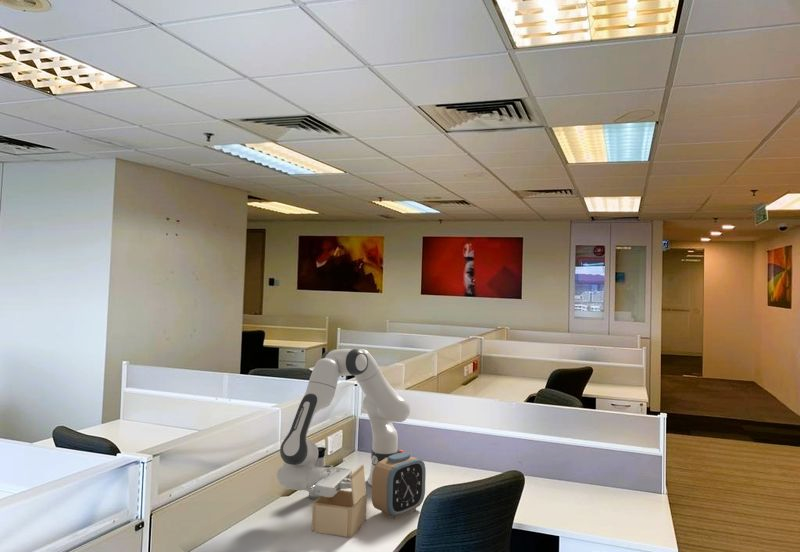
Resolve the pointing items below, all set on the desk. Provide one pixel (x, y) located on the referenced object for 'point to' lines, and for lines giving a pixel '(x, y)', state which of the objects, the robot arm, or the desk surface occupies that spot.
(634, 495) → the desk surface
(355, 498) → the flap
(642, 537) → the desk surface
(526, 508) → the desk surface
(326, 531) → the carton
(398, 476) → the alarm clock
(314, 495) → the travel mug
